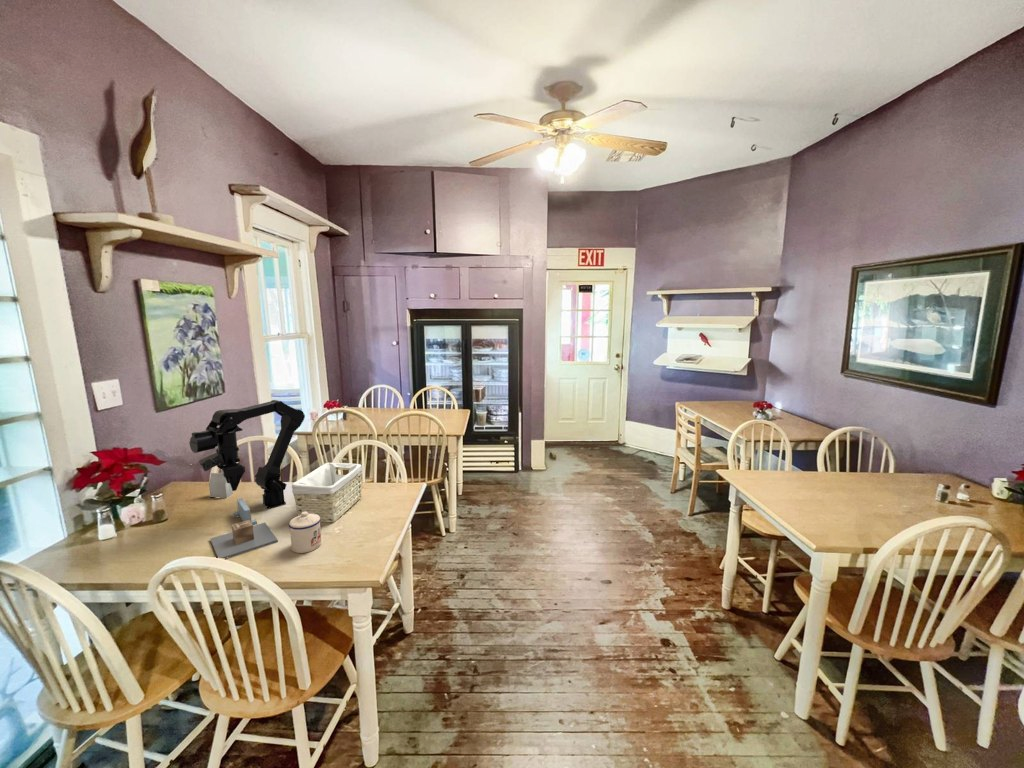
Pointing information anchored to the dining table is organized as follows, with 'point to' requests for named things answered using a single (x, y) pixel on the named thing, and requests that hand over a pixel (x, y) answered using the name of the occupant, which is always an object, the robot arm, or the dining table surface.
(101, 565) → the dining table surface
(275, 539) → the tile
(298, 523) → the lidded ceramic jar
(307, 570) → the dining table surface
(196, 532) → the dining table surface
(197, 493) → the dining table surface
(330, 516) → the storage basket
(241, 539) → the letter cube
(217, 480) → the grey block
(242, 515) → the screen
